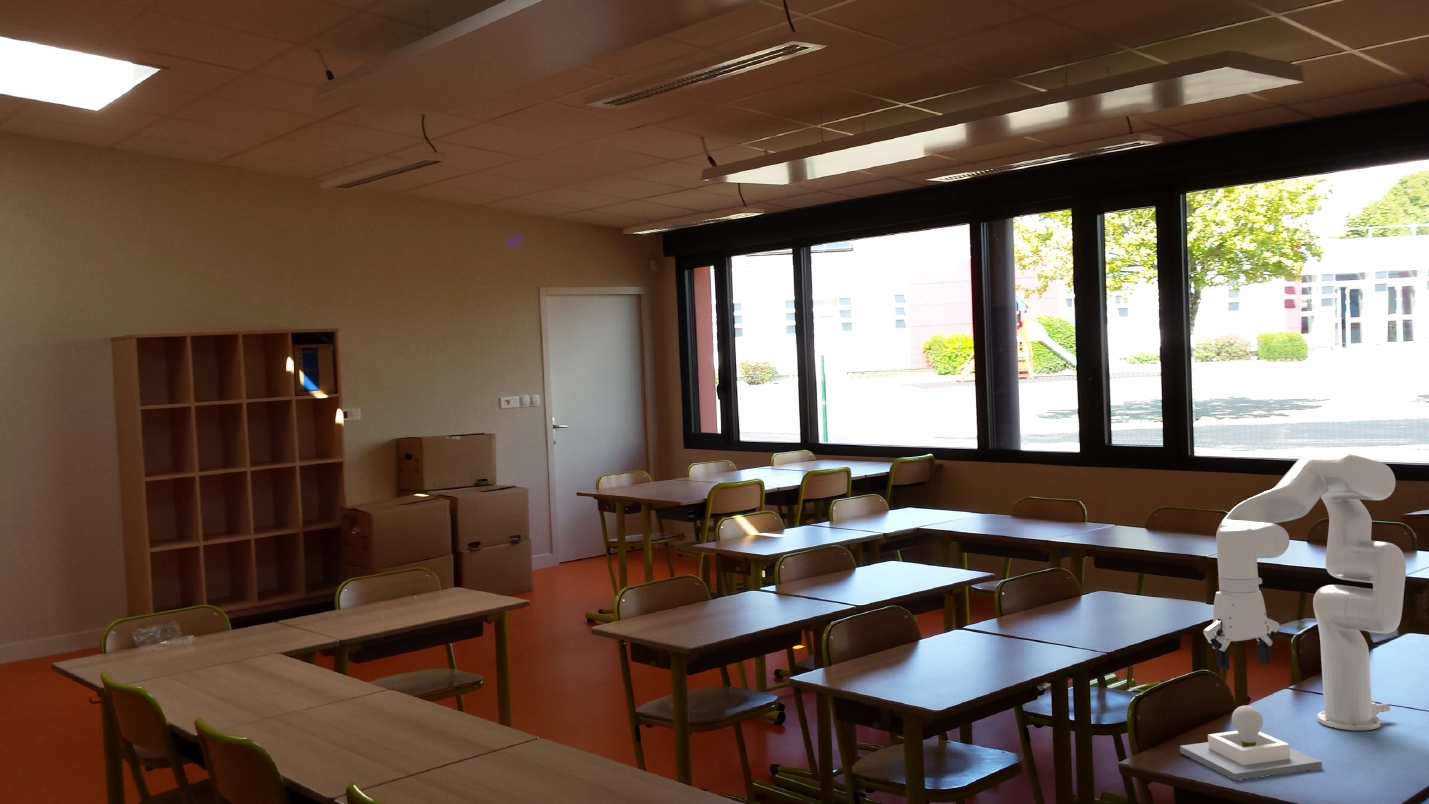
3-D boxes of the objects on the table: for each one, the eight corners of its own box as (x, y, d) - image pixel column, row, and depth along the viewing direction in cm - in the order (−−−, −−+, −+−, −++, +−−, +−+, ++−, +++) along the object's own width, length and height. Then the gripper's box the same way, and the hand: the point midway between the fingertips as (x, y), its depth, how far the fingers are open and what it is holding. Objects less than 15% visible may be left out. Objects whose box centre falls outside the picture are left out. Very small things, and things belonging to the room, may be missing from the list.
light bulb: (1268, 758, 221) (1265, 710, 221) (1238, 757, 222) (1235, 710, 222) (1259, 748, 226) (1257, 701, 226) (1230, 748, 228) (1227, 702, 228)
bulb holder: (1261, 741, 235) (1259, 721, 235) (1322, 768, 217) (1320, 746, 217) (1180, 752, 231) (1179, 732, 231) (1235, 781, 213) (1234, 758, 213)
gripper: (1262, 578, 229) (1267, 657, 229) (1190, 586, 226) (1195, 666, 226) (1287, 584, 222) (1292, 665, 222) (1213, 592, 219) (1218, 674, 219)
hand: (1243, 665), depth 224 cm, fingers open, 9 cm apart
